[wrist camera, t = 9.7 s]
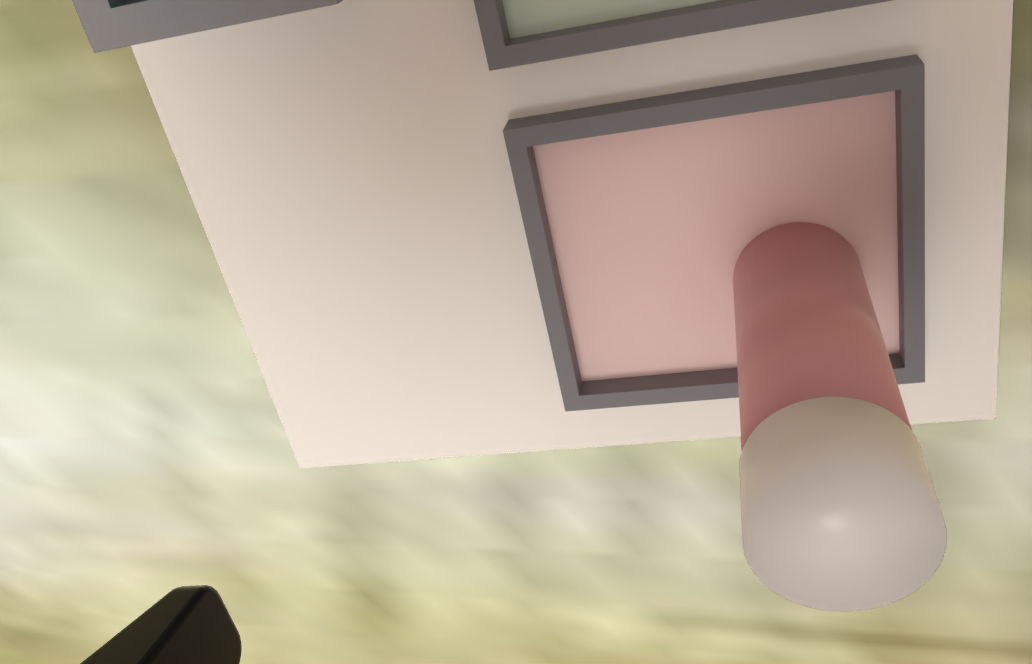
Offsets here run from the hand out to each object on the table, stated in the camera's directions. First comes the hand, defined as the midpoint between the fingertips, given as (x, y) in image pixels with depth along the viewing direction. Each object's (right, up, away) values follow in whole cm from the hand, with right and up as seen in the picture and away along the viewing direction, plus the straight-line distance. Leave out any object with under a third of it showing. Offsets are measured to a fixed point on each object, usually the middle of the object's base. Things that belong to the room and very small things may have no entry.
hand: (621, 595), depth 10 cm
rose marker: (+5, +4, +10) cm, 12 cm away
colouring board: (0, +8, +10) cm, 13 cm away
